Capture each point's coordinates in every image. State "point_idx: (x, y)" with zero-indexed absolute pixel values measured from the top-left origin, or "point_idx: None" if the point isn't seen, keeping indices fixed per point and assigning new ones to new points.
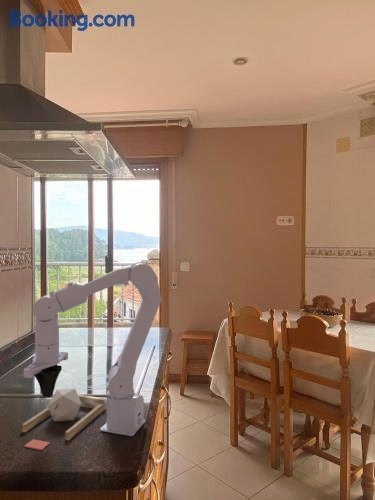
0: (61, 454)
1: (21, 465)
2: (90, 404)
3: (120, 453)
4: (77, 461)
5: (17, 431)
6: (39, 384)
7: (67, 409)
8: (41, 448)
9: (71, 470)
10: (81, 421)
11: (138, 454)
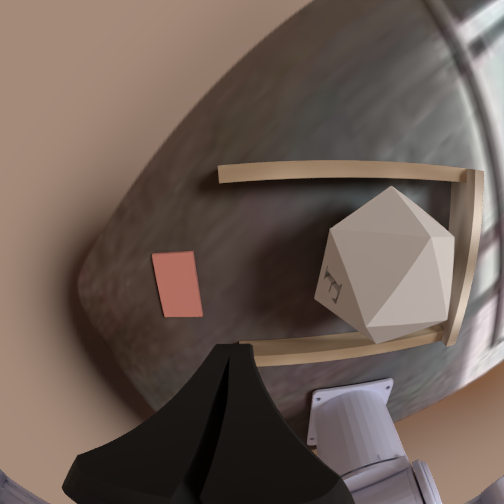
0: (180, 367)
1: (101, 308)
2: None
3: None
4: None
5: (218, 144)
6: (173, 401)
7: (341, 317)
8: (167, 313)
9: (152, 405)
10: (316, 360)
11: None
